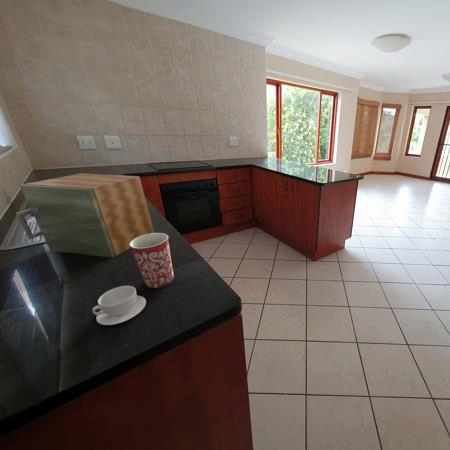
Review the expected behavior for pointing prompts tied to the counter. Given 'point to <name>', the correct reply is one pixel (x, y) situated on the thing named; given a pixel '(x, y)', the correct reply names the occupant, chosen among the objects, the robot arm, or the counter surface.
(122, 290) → the teacup
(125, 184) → the cupboard
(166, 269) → the mug
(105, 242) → the door
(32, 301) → the counter surface
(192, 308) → the counter surface
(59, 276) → the counter surface
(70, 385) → the counter surface
